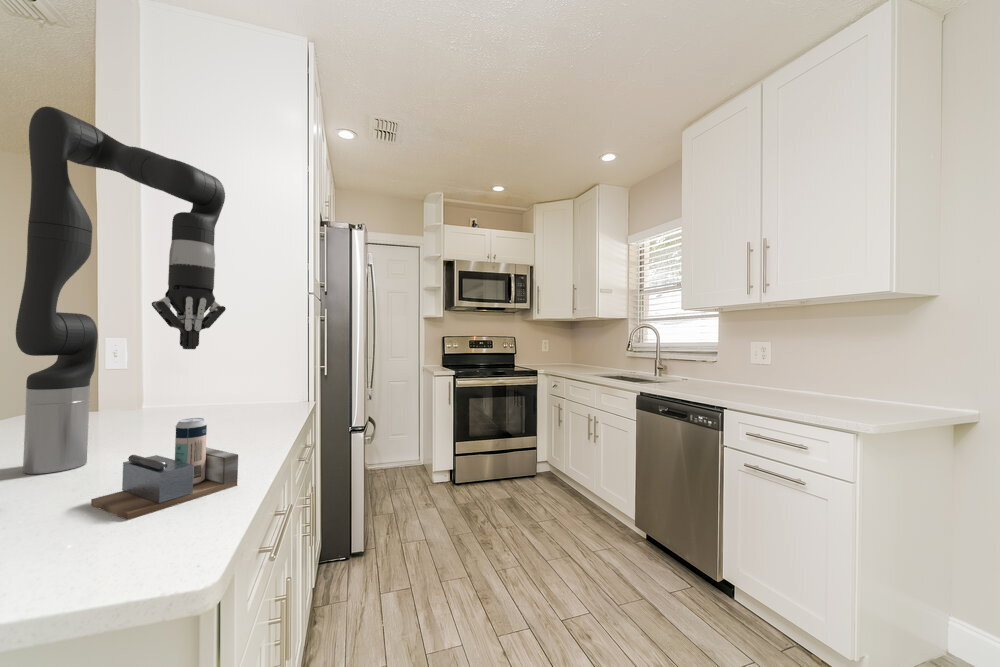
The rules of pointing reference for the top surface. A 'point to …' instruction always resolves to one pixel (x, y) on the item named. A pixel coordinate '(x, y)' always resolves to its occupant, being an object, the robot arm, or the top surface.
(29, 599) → the top surface
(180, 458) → the beer can
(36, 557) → the top surface
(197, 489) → the vise base
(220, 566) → the top surface
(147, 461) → the box
